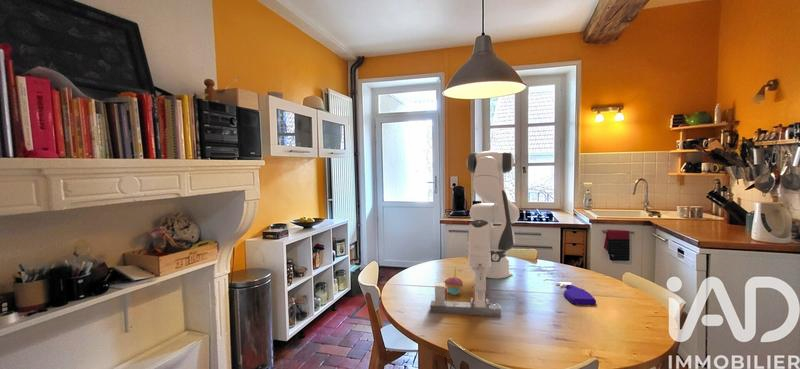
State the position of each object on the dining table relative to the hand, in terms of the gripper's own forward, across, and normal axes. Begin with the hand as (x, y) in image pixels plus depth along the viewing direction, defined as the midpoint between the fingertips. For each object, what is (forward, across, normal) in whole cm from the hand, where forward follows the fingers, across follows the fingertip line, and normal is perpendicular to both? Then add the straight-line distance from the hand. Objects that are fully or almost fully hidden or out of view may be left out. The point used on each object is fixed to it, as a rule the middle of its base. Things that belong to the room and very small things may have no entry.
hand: (479, 294), depth 137 cm
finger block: (+5, 0, 0) cm, 5 cm away
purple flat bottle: (+8, +25, -43) cm, 51 cm away
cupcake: (+8, +20, +11) cm, 24 cm away
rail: (+8, 0, +6) cm, 10 cm away
